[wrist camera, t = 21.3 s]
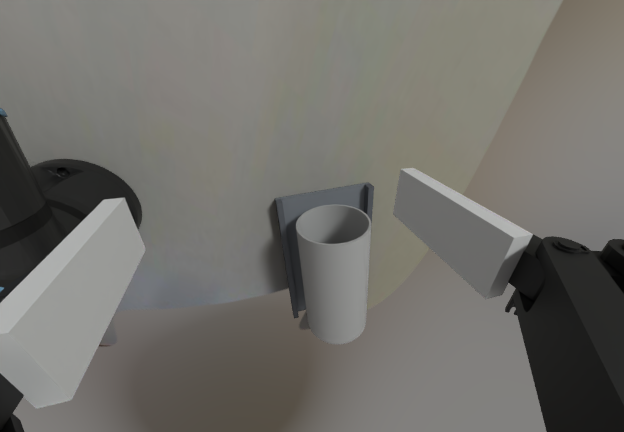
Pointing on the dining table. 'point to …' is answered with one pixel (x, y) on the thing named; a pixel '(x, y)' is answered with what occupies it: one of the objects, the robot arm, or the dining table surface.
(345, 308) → the cylinder vase
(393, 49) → the dining table surface
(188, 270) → the dining table surface
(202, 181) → the dining table surface
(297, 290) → the mat
